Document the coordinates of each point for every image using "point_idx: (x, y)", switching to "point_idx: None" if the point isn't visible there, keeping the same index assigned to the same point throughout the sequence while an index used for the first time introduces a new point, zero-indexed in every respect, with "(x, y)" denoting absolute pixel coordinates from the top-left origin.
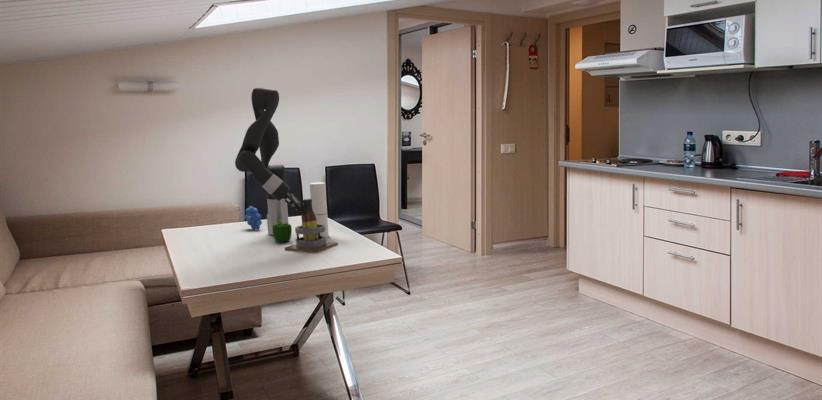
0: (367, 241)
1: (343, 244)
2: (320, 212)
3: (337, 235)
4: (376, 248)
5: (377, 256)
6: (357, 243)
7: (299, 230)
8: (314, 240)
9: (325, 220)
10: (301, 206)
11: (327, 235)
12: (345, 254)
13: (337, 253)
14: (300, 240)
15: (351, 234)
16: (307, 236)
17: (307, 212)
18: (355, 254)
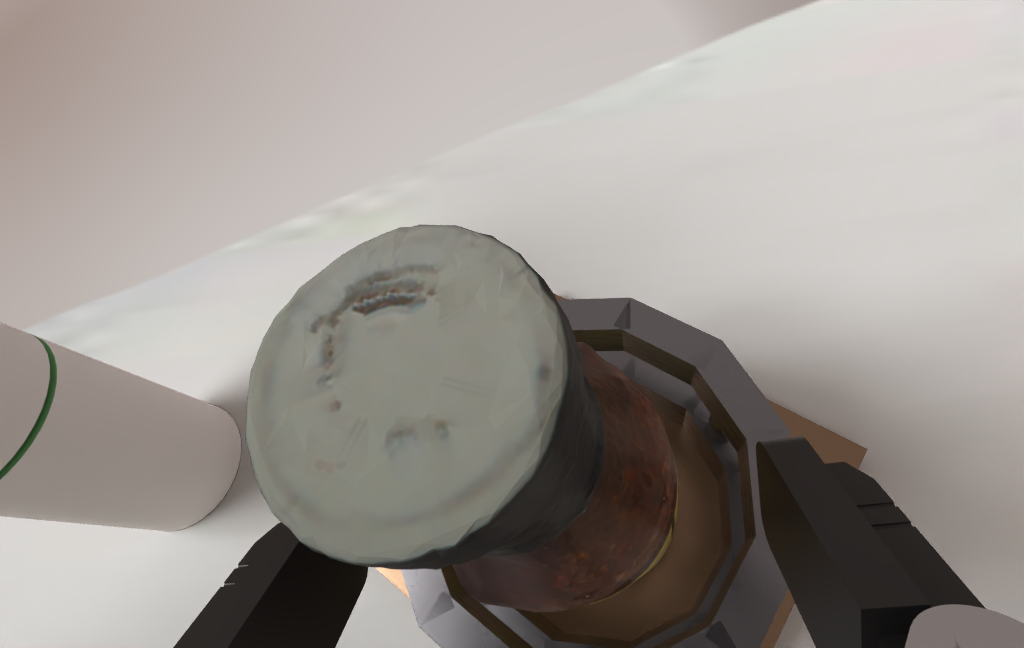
0: (492, 135)
1: (543, 263)
2: (24, 383)
3: (213, 343)
4: (730, 55)
5: (1004, 5)
6: (537, 180)
7: (759, 638)
8: (724, 447)
9: (112, 372)
10: (287, 620)
11: (215, 407)
12: (934, 199)
13: (891, 261)
14: (696, 623)
15: (231, 257)
16: (673, 527)
17: (635, 452)
18: (933, 135)
